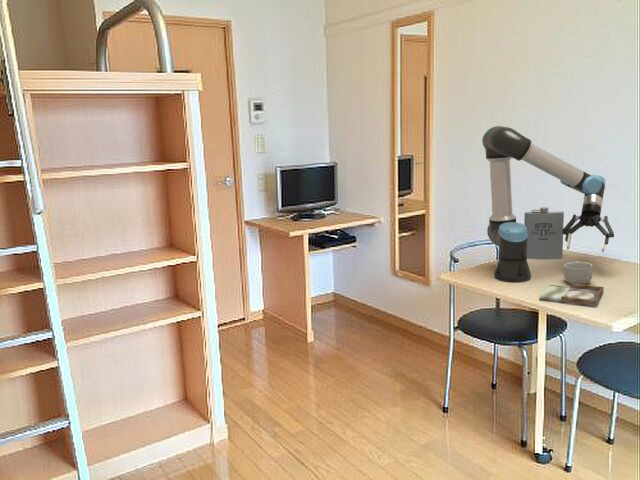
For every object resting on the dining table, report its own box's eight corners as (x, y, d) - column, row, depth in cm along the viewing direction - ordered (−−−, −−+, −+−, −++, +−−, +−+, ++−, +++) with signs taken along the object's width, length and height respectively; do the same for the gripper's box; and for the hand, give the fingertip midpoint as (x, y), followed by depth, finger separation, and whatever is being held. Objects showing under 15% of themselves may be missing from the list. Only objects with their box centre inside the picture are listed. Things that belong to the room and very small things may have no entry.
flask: (524, 259, 275) (525, 208, 269) (523, 256, 279) (524, 206, 274) (563, 259, 270) (564, 207, 264) (561, 256, 275) (563, 205, 269)
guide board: (539, 300, 220) (539, 294, 219) (549, 287, 234) (549, 281, 233) (596, 307, 209) (596, 301, 208) (603, 292, 223) (603, 286, 222)
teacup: (589, 288, 229) (590, 269, 227) (561, 285, 235) (561, 267, 233) (594, 278, 240) (595, 260, 239) (566, 276, 246) (567, 258, 244)
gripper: (624, 213, 246) (618, 255, 237) (562, 211, 259) (554, 251, 250) (623, 203, 240) (617, 246, 231) (560, 201, 254) (552, 242, 245)
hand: (585, 249), depth 241 cm, fingers open, 13 cm apart
